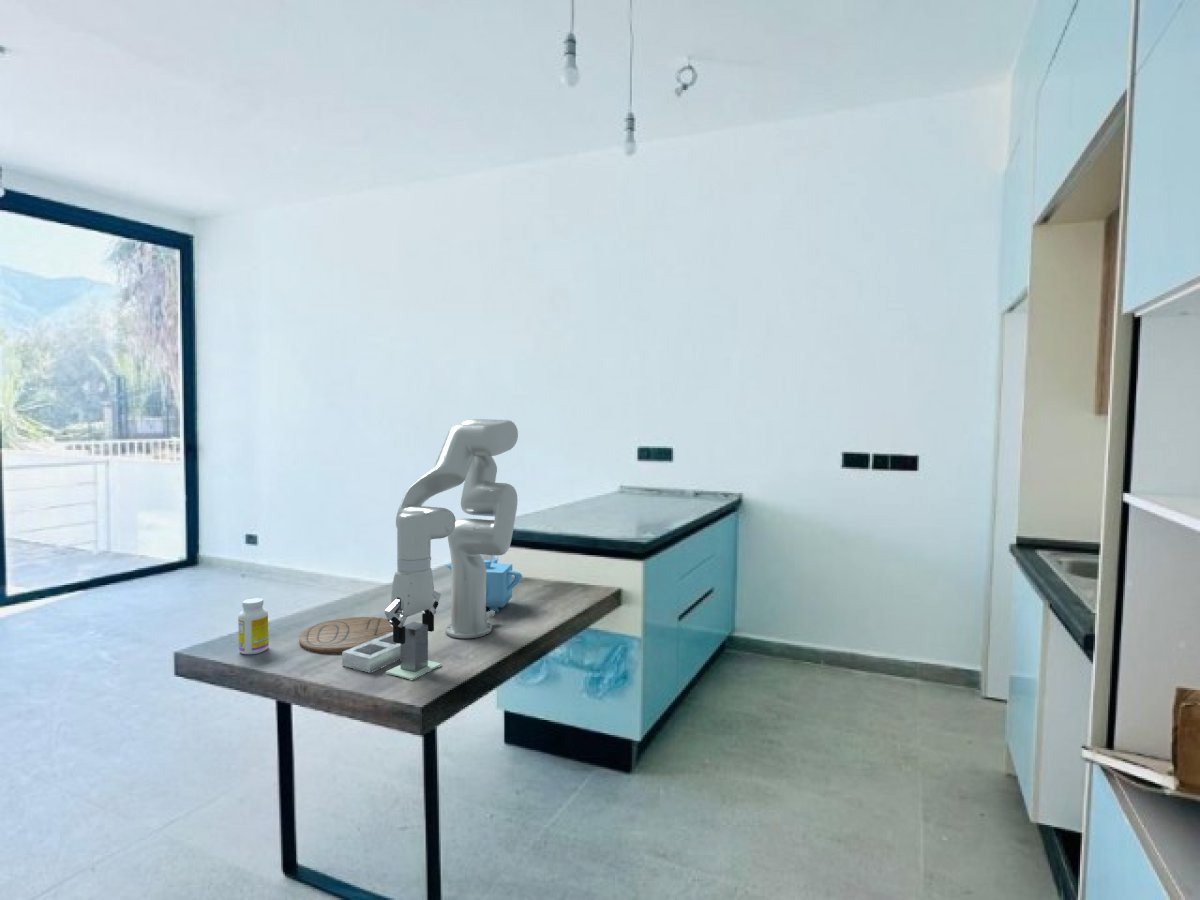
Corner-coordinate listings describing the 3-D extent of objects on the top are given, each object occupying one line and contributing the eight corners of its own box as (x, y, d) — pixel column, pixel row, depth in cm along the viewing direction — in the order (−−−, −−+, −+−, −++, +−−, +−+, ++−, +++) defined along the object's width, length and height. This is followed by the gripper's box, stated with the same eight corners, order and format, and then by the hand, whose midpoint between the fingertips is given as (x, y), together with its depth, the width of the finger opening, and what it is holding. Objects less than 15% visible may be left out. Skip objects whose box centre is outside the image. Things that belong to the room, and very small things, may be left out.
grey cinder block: (394, 644, 170) (394, 631, 170) (420, 650, 166) (420, 636, 166) (342, 666, 155) (342, 651, 155) (369, 673, 151) (369, 658, 151)
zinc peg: (413, 662, 156) (413, 621, 156) (427, 665, 154) (427, 624, 154) (400, 668, 152) (400, 627, 152) (415, 672, 150) (415, 630, 150)
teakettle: (526, 608, 203) (526, 562, 203) (472, 619, 191) (473, 570, 191) (495, 595, 218) (495, 552, 217) (443, 604, 206) (443, 559, 205)
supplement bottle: (273, 645, 168) (272, 596, 167) (260, 655, 161) (260, 604, 160) (247, 645, 167) (246, 596, 167) (233, 655, 161) (232, 604, 160)
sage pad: (416, 659, 160) (416, 657, 160) (441, 666, 156) (441, 663, 156) (385, 674, 151) (385, 671, 151) (411, 680, 147) (411, 678, 147)
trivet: (395, 619, 191) (395, 613, 191) (401, 648, 168) (401, 641, 168) (302, 628, 182) (302, 621, 182) (295, 660, 159) (295, 652, 159)
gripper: (427, 555, 161) (427, 623, 162) (374, 570, 146) (374, 645, 147) (450, 559, 158) (450, 628, 159) (399, 574, 143) (399, 651, 144)
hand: (414, 636), depth 153 cm, fingers open, 9 cm apart
